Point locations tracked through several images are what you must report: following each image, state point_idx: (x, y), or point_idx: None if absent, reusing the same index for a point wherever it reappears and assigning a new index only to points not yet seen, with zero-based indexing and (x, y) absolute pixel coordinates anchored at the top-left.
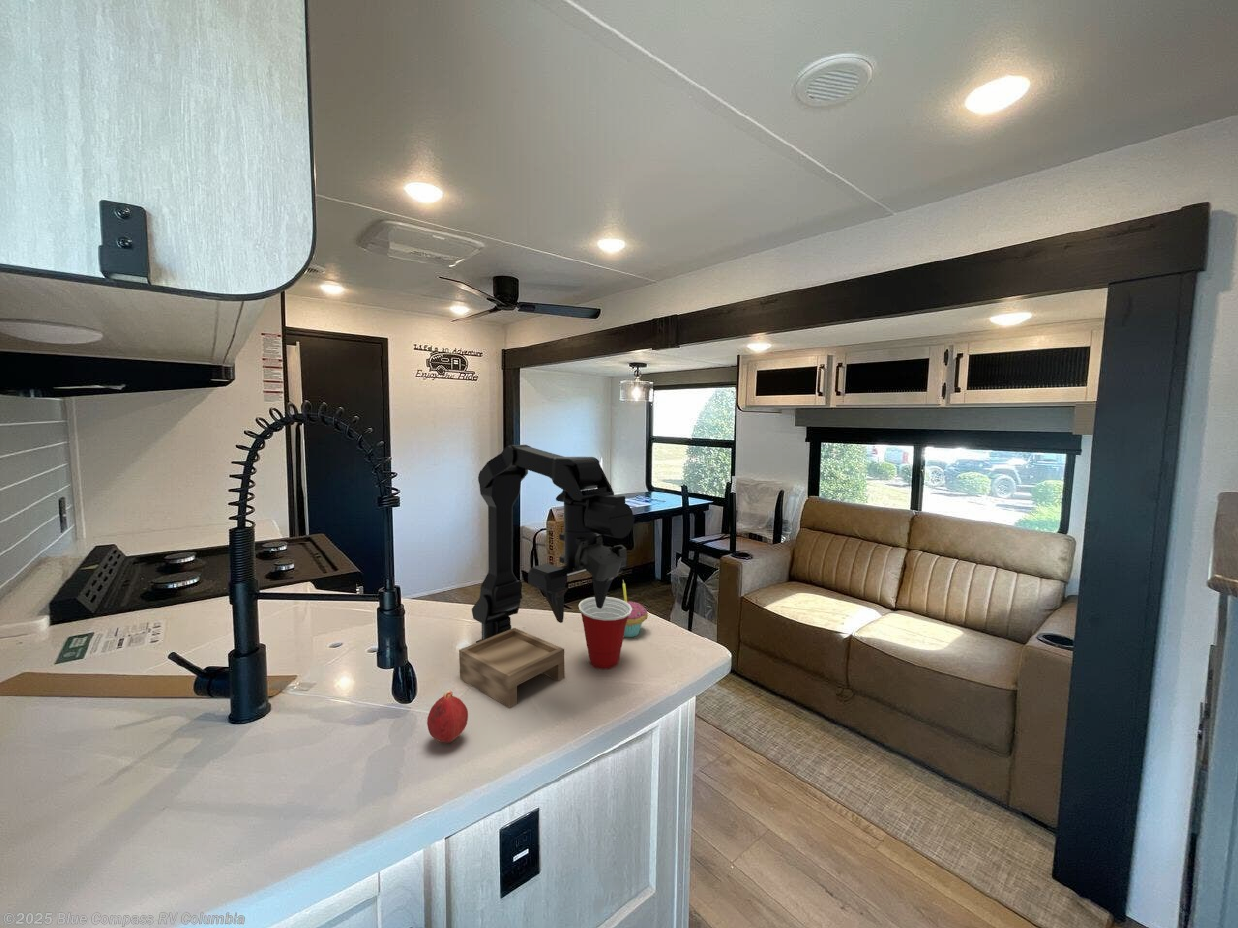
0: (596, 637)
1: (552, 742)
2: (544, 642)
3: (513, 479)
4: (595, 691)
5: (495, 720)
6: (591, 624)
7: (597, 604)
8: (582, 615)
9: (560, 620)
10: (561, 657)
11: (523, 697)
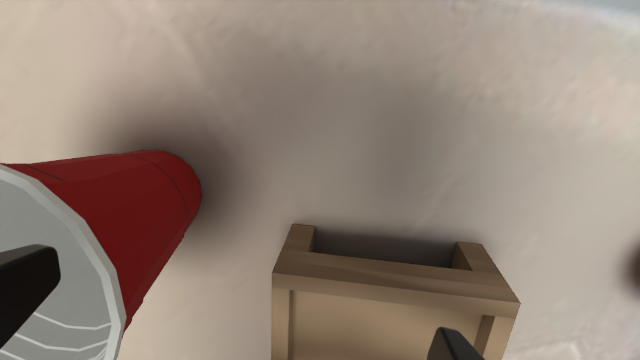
0: (155, 220)
1: (561, 50)
2: (281, 342)
3: None
4: (292, 114)
5: (542, 236)
6: (134, 266)
7: (39, 290)
8: (123, 331)
9: (472, 347)
10: (291, 259)
11: (424, 247)
